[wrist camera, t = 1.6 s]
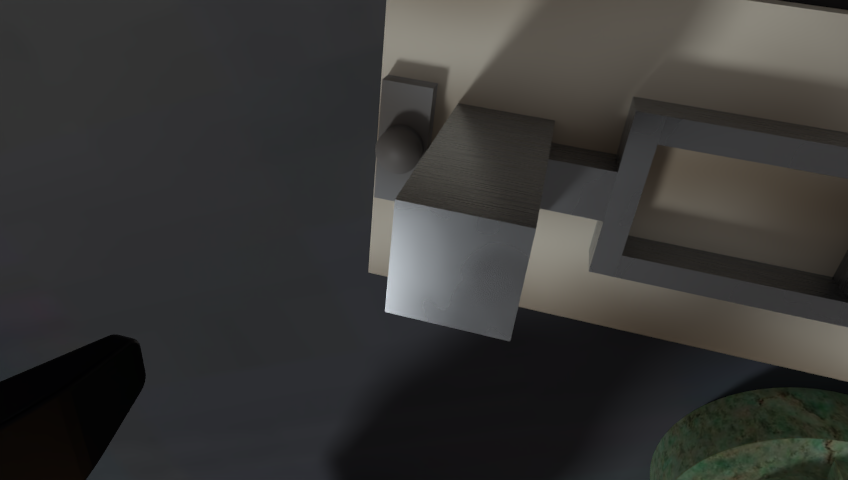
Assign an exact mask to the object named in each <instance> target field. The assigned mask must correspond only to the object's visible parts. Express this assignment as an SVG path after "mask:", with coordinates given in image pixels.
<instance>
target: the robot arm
mask: <svg viewBox="0 0 848 480" xmlns="http://www.w3.org/2000/svg"><path fill="white" fill-rule="evenodd" d="M145 377H146V374H145V368H144V363H143V358H142V353H141V348H140V344H139V343H138V341H137V340H135V339H133V338H129V337H125V336H121V335H110V336H107V337H105V338H102V339H100V340H98V341H95V342H93V343H90V344H88V345H86V346H83V347H81V348H79V349H76V350H74V351H72V352H69V353H67V354H65V355H62V356H60V357H57V358H55V359H53V360H50V361H48V362H46V363H43V364H41V365H39V366H36V367H34V368H32V369H29V370H27V371H24V372H22V373H20V374H17V375H15V376H13V377H10V378H8V379H6V380H3V381H1V382H0V480H86V479H87V477H88V476H89V474H90V473H91V472H92V470H93V469H94V467H95V466H96V464H97V463H98V461H99V460H100V458H101V456H102V455H103V453H104V451H105V450H106V448H107V447H108V445H109V443H110V442H111V440H112V438H113V437H114V435H115V433H116V432H117V430H118V428H119V427H120V425H121V423H122V422H123V420H124V418H125V417H126V415H127V413H128V412H129V410H130V408H131V407H132V405H133V404H134V402H135V400H136V399H137V397H138V395H139V394H140V392H141V390H142V388H143V386H144V383H145Z"/></svg>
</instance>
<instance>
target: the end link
mask: <svg viewBox="0 0 848 480" xmlns="http://www.w3.org/2000/svg"><path fill="white" fill-rule="evenodd" d="M554 124H555V120H550V119H544V118H539V117H533V116H527V115H522V114H516V113H511V112H505V111H499V110H494V109H488V108H483V107H477V106H471V105H466V104H460V103H458V104H457V105H456V107H455V109H454V110H453V112H452V113H451V115H450V116H449V118H448V119H447V121H446V122H445V124H444V125H443V127H442V128H441V130H440V131H439V133H438V134H437V136H436V137H435V139H434V141H433V142H432V144H431V145H430V147H429V148H428V150H427V151H426V153H425V154H424V156H423V157H422V159H421V160H420V162H419V163H418V165H417V166H416V168H415V169H414V171H413V173H412V174H411V176H410V177H409V179H408V180H407V182H406V183H405V185H404V186H403V188H402V189H401V191H400V192H399V194H398V195H397V197H396V198H395V203H394V214H393V226H392V237H391V249H390V260H389V272H388V283H387V294H386V306H385V312H388V313H392V314H396V315H401V316H405V317H409V318H413V319H417V320H422V321H426V322H430V323H434V324H438V325H443V326H447V327H451V328H455V329H459V330H464V331H468V332H472V333H476V334H481V335H485V336H489V337H493V338H497V339H502V340H506V341H510V340H511V336H512V332H513V327H514V323H515V319H516V314H517V310H518V306H519V301H520V297H521V293H522V288H523V284H524V280H525V275H526V271H527V267H528V262H529V258H530V253H531V249H532V245H533V240H534V236H535V232H536V227H537V221H538V216H539V210H540V209H544V210H549V211H554V212H559V213H564V214H569V215H574V216H579V217H584V218H589V219H594V220H597V223H596V227H595V230H594V234H593V237H592V241H591V244H590V248H589V272H593V273H598V274H602V275H607V276H611V277H616V278H621V279H625V280H630V281H635V282H639V283H644V284H649V285H653V286H658V287H663V288H667V289H672V290H676V291H681V292H686V293H690V294H695V295H700V296H704V297H709V298H714V299H718V300H723V301H728V302H732V303H737V304H741V305H746V306H751V307H755V308H760V309H765V310H769V311H774V312H779V313H783V314H788V315H793V316H797V317H802V318H806V319H811V320H816V321H820V322H825V323H830V324H834V325H839V326H844V327H848V250H847V252H846V254H845V255H844V257H843V259H842V261H841V263H840V265H839V266H838V268H837V270H836V272H835V274H834V276H833V277H830V276H825V275H820V274H815V273H810V272H805V271H800V270H796V269H791V268H786V267H781V266H776V265H771V264H766V263H761V262H756V261H752V260H747V259H742V258H737V257H732V256H727V255H722V254H717V253H712V252H707V251H703V250H698V249H693V248H688V247H683V246H678V245H673V244H668V243H663V242H658V241H654V240H649V239H644V238H639V237H634V236H629V232H630V228H631V225H632V222H633V219H634V216H635V213H636V210H637V207H638V204H639V201H640V197H641V194H642V191H643V188H644V185H645V182H646V179H647V176H648V173H649V170H650V166H651V163H652V160H653V157H654V154H655V151H656V148H657V145H663V146H668V147H674V148H679V149H685V150H691V151H696V152H702V153H707V154H713V155H718V156H724V157H729V158H735V159H740V160H746V161H752V162H757V163H763V164H768V165H774V166H779V167H785V168H790V169H796V170H802V171H807V172H813V173H818V174H824V175H829V176H835V177H840V178H846V179H848V133H846V132H841V131H835V130H829V129H823V128H817V127H811V126H805V125H799V124H793V123H787V122H782V121H776V120H770V119H764V118H758V117H752V116H746V115H740V114H734V113H728V112H722V111H717V110H711V109H705V108H699V107H693V106H687V105H681V104H675V103H669V102H663V101H658V100H652V99H646V98H640V97H634V96H633V98H632V102H631V105H630V109H629V112H628V116H627V119H626V123H625V126H624V130H623V133H622V137H621V140H620V144H619V147H618V151H617V154H612V153H606V152H601V151H595V150H590V149H584V148H579V147H574V146H568V145H563V144H557V143H552V142H551V141H552V136H553V130H554Z"/></svg>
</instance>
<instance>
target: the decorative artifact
mask: <svg viewBox="0 0 848 480" xmlns="http://www.w3.org/2000/svg"><path fill="white" fill-rule="evenodd" d="M650 480H848V395H846V394H842V393H838V392H834V391H827V390H821V389H812V388H795V387H784V388H768V389H758V390H753V391H747V392H742V393H738V394H734V395H730V396H727V397H724V398H721V399H718V400H715V401H713V402H711V403H708V404H706V405H704V406H702V407H700V408H698V409H696V410H694V411H693V412H691V413H689V414H688V415H686V416H685V417H683V418H682V419H681V420H680V421H678V422H677V423H676V424H675V425H674V426H673V427H672V428H671V429H670V430H669V431H668V432H667V433H666V434H665V435H664V437H663V438H662V439H661V441H660V442H659V444H658V446H657V448H656V450H655V452H654V454H653V458H652V461H651V467H650Z"/></svg>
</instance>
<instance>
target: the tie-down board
mask: <svg viewBox="0 0 848 480" xmlns="http://www.w3.org/2000/svg"><path fill="white" fill-rule="evenodd" d="M633 96H634V97H640V98H646V99H652V100H658V101H663V102H669V103H675V104H681V105H687V106H693V107H699V108H705V109H711V110H717V111H722V112H728V113H734V114H740V115H746V116H752V117H758V118H764V119H770V120H776V121H782V122H787V123H793V124H799V125H805V126H811V127H817V128H823V129H829V130H835V131H841V132H846V133H848V10H843V9H836V8H829V7H822V6H815V5H808V4H801V3H794V2H786V1H779V0H387V3H386V18H385V33H384V48H383V63H382V77H381V92H380V107H379V122H378V137H377V143H376V147H375V154H376V167H375V182H374V197H373V212H372V227H371V242H370V257H369V273H374V274H378V275H382V276H387V277H388V272H389V260H390V249H391V237H392V226H393V214H394V203H395V198H396V197H397V195H398V194H399V192H400V191H401V189H402V188H403V186H404V185H405V183H406V182H407V180H408V179H409V177H410V176H411V174H412V173H413V171H414V169H415V168H416V166H417V165H418V163H419V162H420V160H421V159H422V157H423V156H424V154H425V153H426V151H427V150H428V148H429V147H430V145H431V144H432V142H433V141H434V139H435V137H436V136H437V134H438V133H439V131H440V130H441V128H442V127H443V125H444V124H445V122H446V121H447V119H448V118H449V116H450V115H451V113H452V112H453V110H454V109H455V107H456V105H457V104H458V103H460V104H466V105H471V106H477V107H483V108H488V109H494V110H499V111H505V112H511V113H516V114H522V115H527V116H533V117H539V118H544V119H550V120H555V124H554V130H553V136H552V141H551V142H552V143H557V144H563V145H568V146H574V147H579V148H584V149H590V150H595V151H601V152H606V153H612V154H617V151H618V147H619V144H620V140H621V137H622V133H623V130H624V126H625V123H626V119H627V116H628V112H629V109H630V105H631V102H632V98H633ZM596 223H597V220H594V219H589V218H584V217H579V216H574V215H569V214H564V213H559V212H554V211H549V210H544V209H540V210H539V216H538V221H537V227H536V232H535V236H534V240H533V245H532V249H531V253H530V258H529V262H528V267H527V271H526V275H525V280H524V284H523V288H522V293H521V297H520V301H519V306H518V307H523V308H527V309H531V310H536V311H540V312H544V313H549V314H553V315H558V316H562V317H566V318H571V319H575V320H580V321H584V322H588V323H593V324H597V325H601V326H606V327H610V328H615V329H619V330H623V331H628V332H632V333H636V334H641V335H645V336H650V337H654V338H658V339H663V340H667V341H672V342H676V343H680V344H685V345H689V346H693V347H698V348H702V349H707V350H711V351H715V352H720V353H724V354H729V355H733V356H737V357H742V358H746V359H750V360H755V361H759V362H764V363H768V364H772V365H777V366H781V367H785V368H790V369H794V370H799V371H803V372H807V373H812V374H816V375H821V376H825V377H829V378H834V379H838V380H842V381H847V382H848V327H844V326H839V325H834V324H830V323H825V322H820V321H816V320H811V319H806V318H802V317H797V316H793V315H788V314H783V313H779V312H774V311H769V310H765V309H760V308H755V307H751V306H746V305H741V304H737V303H732V302H728V301H723V300H718V299H714V298H709V297H704V296H700V295H695V294H690V293H686V292H681V291H676V290H672V289H667V288H663V287H658V286H653V285H649V284H644V283H639V282H635V281H630V280H625V279H621V278H616V277H611V276H607V275H602V274H598V273H593V272H589V248H590V244H591V241H592V237H593V234H594V230H595V227H596ZM629 236H634V237H639V238H644V239H649V240H654V241H658V242H663V243H668V244H673V245H678V246H683V247H688V248H693V249H698V250H703V251H707V252H712V253H717V254H722V255H727V256H732V257H737V258H742V259H747V260H752V261H756V262H761V263H766V264H771V265H776V266H781V267H786V268H791V269H796V270H800V271H805V272H810V273H815V274H820V275H825V276H830V277H833V276H834V274H835V272H836V270H837V268H838V266H839V265H840V263H841V261H842V259H843V257H844V255H845V254H846V252H847V250H848V179H846V178H840V177H835V176H829V175H824V174H818V173H813V172H807V171H802V170H796V169H790V168H785V167H779V166H774V165H768V164H763V163H757V162H752V161H746V160H740V159H735V158H729V157H724V156H718V155H713V154H707V153H702V152H696V151H691V150H685V149H679V148H674V147H668V146H663V145H657V148H656V151H655V154H654V157H653V160H652V163H651V166H650V170H649V173H648V176H647V179H646V182H645V185H644V188H643V191H642V194H641V197H640V201H639V204H638V207H637V210H636V213H635V216H634V219H633V222H632V225H631V228H630V232H629Z"/></svg>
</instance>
